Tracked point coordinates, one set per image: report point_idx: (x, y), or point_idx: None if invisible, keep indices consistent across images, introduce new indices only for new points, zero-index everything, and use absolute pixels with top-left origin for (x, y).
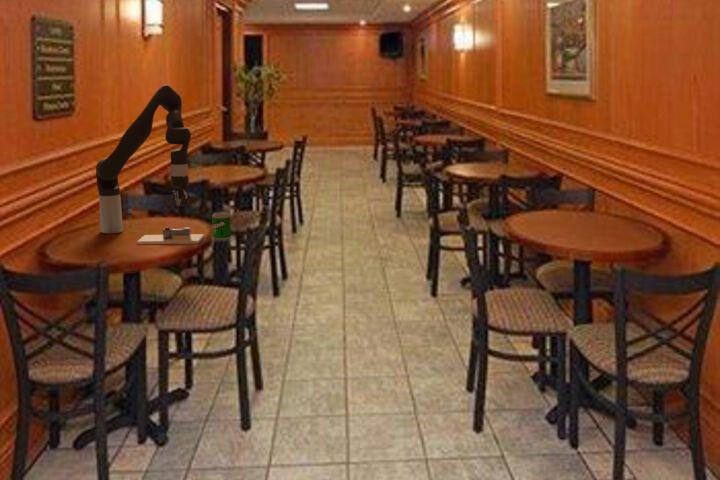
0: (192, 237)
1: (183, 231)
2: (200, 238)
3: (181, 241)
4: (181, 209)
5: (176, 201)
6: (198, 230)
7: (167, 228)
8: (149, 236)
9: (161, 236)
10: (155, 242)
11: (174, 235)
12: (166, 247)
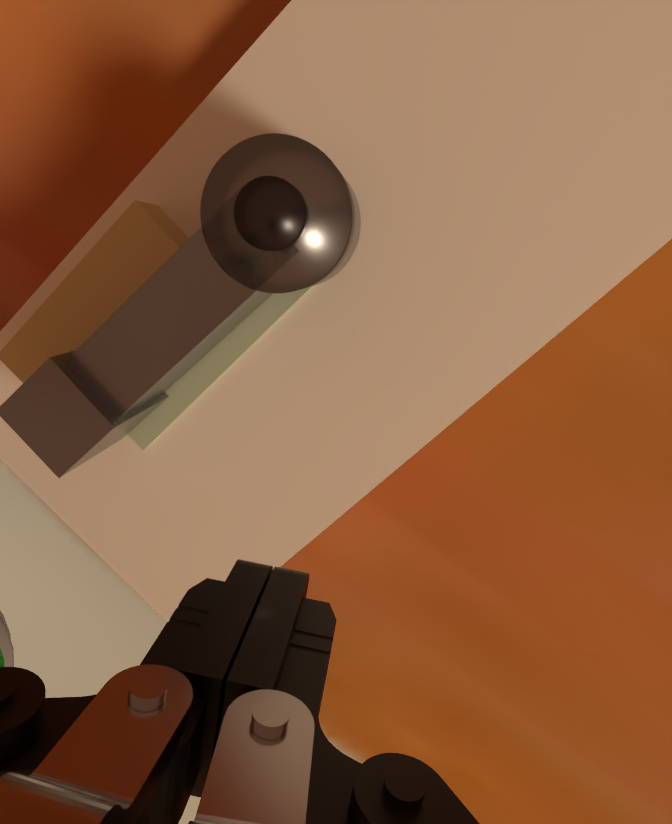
0: (134, 462)
1: (69, 352)
2: (30, 487)
3: (65, 261)
4: (163, 642)
5: (303, 801)
6: (526, 794)
7: (238, 198)
8: (631, 127)
9: (485, 247)
10: (293, 9)
11: (166, 250)
12: (27, 6)
